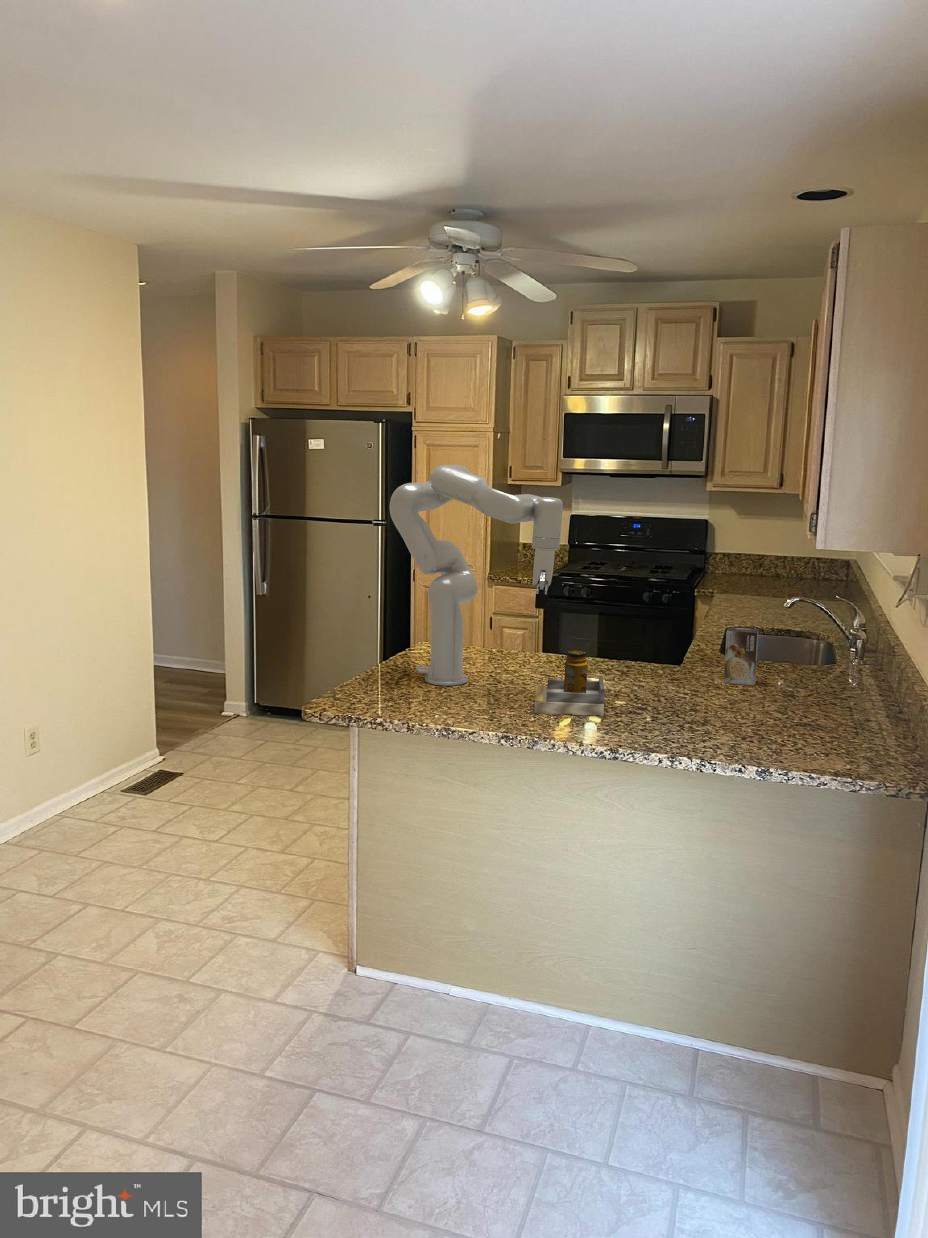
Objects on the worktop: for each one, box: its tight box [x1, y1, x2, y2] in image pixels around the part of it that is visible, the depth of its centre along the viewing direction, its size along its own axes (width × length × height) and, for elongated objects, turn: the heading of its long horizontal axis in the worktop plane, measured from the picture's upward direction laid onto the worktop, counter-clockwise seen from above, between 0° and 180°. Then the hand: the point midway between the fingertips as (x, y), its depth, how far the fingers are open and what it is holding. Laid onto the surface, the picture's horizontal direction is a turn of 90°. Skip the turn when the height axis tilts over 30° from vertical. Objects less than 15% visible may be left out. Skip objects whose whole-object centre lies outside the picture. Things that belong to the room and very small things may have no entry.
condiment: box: [563, 649, 588, 693], centre depth 249 cm, size 7×8×12 cm
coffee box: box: [723, 626, 760, 686], centre depth 277 cm, size 9×6×16 cm
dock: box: [533, 675, 605, 717], centre depth 250 cm, size 18×16×7 cm
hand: (541, 605), depth 255 cm, fingers open, 9 cm apart
